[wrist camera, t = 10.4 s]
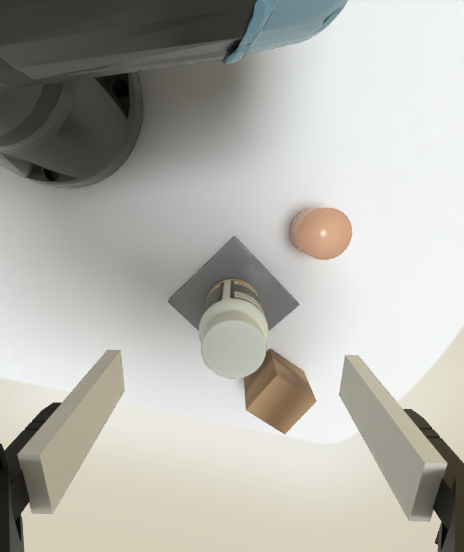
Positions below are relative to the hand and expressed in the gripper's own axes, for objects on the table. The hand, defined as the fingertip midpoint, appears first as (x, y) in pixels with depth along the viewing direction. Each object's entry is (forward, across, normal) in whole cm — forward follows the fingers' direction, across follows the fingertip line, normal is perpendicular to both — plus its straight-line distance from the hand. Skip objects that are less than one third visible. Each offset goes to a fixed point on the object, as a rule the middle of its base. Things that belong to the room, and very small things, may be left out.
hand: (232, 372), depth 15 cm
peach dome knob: (+14, +8, +7) cm, 17 cm away
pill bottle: (+13, 0, -1) cm, 13 cm away
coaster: (+14, 0, -1) cm, 14 cm away
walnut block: (+14, +5, -10) cm, 18 cm away
